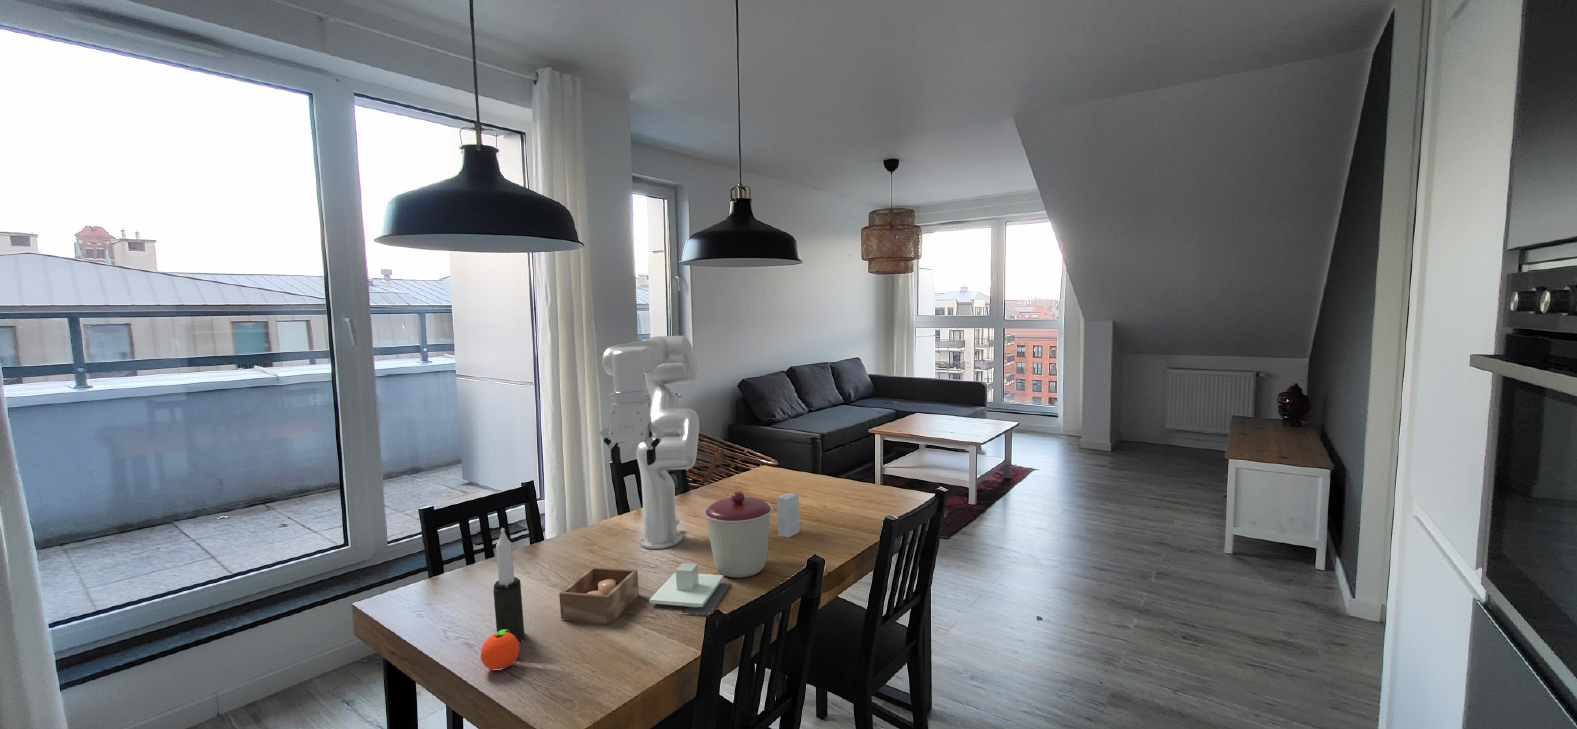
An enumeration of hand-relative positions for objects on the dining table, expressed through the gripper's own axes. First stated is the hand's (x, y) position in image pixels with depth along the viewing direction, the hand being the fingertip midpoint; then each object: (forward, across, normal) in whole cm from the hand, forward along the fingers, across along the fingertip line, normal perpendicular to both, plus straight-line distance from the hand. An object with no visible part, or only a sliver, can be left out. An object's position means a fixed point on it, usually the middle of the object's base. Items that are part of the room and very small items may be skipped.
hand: (633, 463), depth 157 cm
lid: (+30, +17, -9) cm, 35 cm away
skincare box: (+31, +32, +35) cm, 56 cm away
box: (+30, -1, -18) cm, 35 cm away
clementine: (+31, -9, -42) cm, 53 cm away
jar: (+30, -1, -21) cm, 36 cm away
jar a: (+30, -1, -15) cm, 33 cm away
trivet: (+30, +17, -9) cm, 36 cm away
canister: (+31, +25, +8) cm, 40 cm away
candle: (+31, -13, -34) cm, 47 cm away
